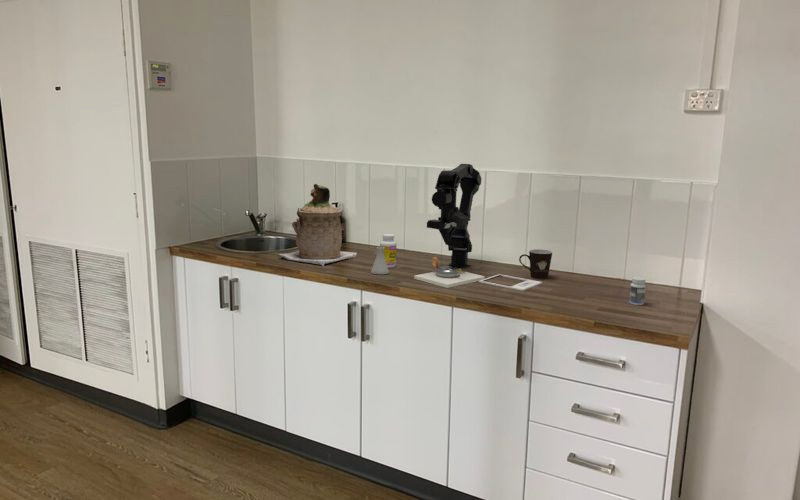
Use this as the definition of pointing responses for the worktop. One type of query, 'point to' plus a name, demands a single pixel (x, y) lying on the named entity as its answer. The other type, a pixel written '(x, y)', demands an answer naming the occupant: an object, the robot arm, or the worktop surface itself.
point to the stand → (449, 279)
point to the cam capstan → (445, 269)
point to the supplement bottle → (389, 249)
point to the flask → (380, 263)
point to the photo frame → (520, 286)
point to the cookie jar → (318, 231)
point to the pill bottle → (637, 291)
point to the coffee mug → (538, 263)
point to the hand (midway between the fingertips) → (447, 244)
